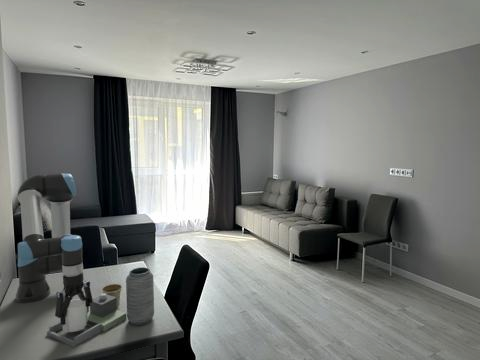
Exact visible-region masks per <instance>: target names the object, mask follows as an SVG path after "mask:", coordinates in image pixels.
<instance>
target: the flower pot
mask: <svg viewBox="0 0 480 360" xmlns="http://www.w3.org/2000/svg"><path fill="white" fill-rule="evenodd" d="M122 288H123V285H122V284H119V283H113V284H111V283H110V284H107V285H104V286H103V287H102V288H101V292H102V294H103V293H105V294H107V295H110V296H113V297H116V299H117V307H118V306H119V304H120V301H121V291H122Z"/></svg>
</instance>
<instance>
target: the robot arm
mask: <svg viewBox="0 0 480 360" xmlns="http://www.w3.org/2000/svg"><path fill="white" fill-rule="evenodd" d="M75 183H76V182H75V181H74V177H73V175H72V174H71V173H64V172H62V173H41V174H39V173H38V174H34V175H31V176H29V177H28V178H27V179H24V181H23V182H22V183H21V185H20V186H19V188H18V190H17V200H18V202H19V203H20V212H21V213H20V214H21V229H22V233H21V234H22V241H20V242H18V243H17V257H18V258H17V268H18V269H17V272H18V286H17V290H16V293H15V300H16V302H19V303H32V302H36V301H40V300H42V299H44V298H47V297H48V296H49V295H50V294H51V288H50V285H49V283H48V282H47V279H46V275H49V274H50V275H51V274H55V273H61V272H62V284H63V289H62V290H61V291H57V292H56V293H55V295H56V304H55V312H54V313H55V314H54V317H56V318H58V319H60V321H61V324H62V326H63V328H62V331H63V332H65V333H70V332H69V328H68V316H66V314H67V311H68V309H67V308H69V305H70V302H71V300H73V298H74V297H75V296H78V299H80V300H82V301H84V300H85V303H86V322H88V315H87V313H88V312H89V306H90V303H92V302H93V300H92V299H93V297H92V291H91V281H88V280H85V281H84V272H83V271H84V264H83V263H84V262H83V261H84V259H83V241H82V237H81V236H80V235H77V234H71V207H70V206H71V205H70V203H71V202H72V201H73V200H74V197H75V196H76V195H77V190H76V189H77V187H76V184H75ZM42 198H46V200H47V202H48V203H49V204H50V213H51V214H50V218H51V219H50V220H51V223H50V224H51V238H45V237H44V228H43V227H44V225H43V218H42V210H41V200H42ZM60 321H59V322H60Z"/></svg>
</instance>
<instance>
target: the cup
mask: <svg viewBox="0 0 480 360" xmlns="http://www.w3.org/2000/svg"><path fill="white" fill-rule="evenodd" d="M67 309H68V311H67V314H66V316H68V328H69V332H68V333H74V332H78V331H81V330H83V329H85V328H86V326H87V324H86V303H85V300H84V301H82V300H80V298H77V299H72V300H71V302H70V305H69V308H67Z"/></svg>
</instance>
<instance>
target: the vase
mask: <svg viewBox="0 0 480 360" xmlns="http://www.w3.org/2000/svg"><path fill="white" fill-rule="evenodd" d="M150 270H151V269H149V267H146V266H145V267H135V268H133V269H130V270H129V272H128V274H127V276H126V277H125V287H126V289H125V290H126V293H125V294H126V319H127V320H128V321H129V322H130V323H131V324H132V325H134V326H142V325H147V324H149V322H150V321H151V320H152V319H153V317H154V316H155V295H154V294H155V293H154V292H155V290H154V289H155V288H154V287H155V286H154V274H153V273H152V272H151V271H150Z"/></svg>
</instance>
